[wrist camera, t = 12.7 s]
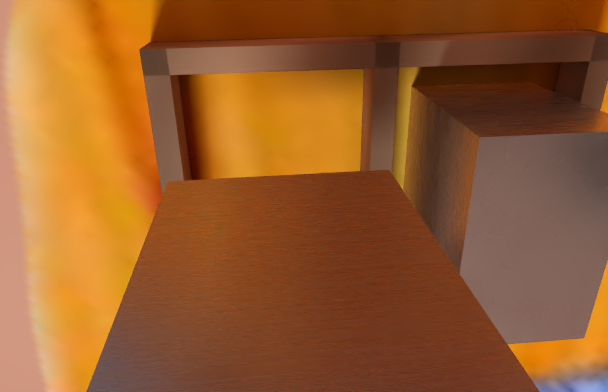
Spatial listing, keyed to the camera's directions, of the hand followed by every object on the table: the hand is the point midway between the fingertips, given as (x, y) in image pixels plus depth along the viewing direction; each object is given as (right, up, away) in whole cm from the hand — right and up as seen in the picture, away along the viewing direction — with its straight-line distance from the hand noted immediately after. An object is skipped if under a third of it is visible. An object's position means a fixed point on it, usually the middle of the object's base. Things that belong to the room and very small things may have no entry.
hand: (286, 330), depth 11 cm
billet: (0, 0, +1) cm, 1 cm away
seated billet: (+7, +4, +9) cm, 12 cm away
